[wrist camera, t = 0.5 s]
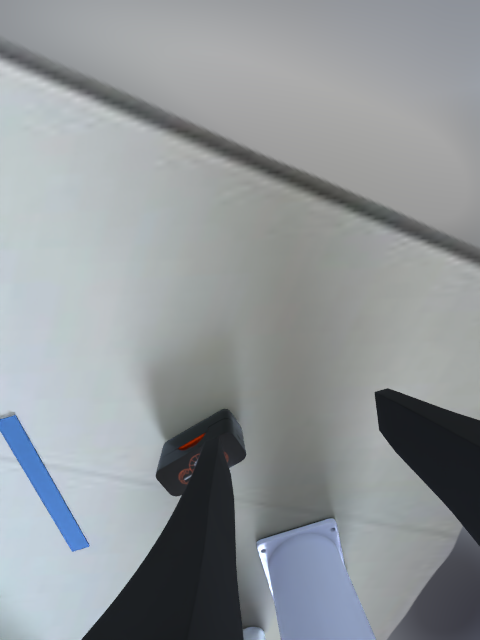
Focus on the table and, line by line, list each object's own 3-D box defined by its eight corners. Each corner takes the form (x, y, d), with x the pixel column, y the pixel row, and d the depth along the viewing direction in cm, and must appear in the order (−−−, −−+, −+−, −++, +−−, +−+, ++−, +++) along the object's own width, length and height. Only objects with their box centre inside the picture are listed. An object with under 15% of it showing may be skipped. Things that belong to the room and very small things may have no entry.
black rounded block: (152, 446, 21) (142, 479, 18) (227, 403, 21) (229, 429, 18) (184, 482, 22) (179, 520, 19) (254, 442, 22) (261, 474, 19)
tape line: (89, 545, 23) (88, 546, 23) (72, 550, 23) (72, 551, 23) (15, 415, 19) (14, 415, 19) (-5, 420, 19) (-6, 421, 19)
